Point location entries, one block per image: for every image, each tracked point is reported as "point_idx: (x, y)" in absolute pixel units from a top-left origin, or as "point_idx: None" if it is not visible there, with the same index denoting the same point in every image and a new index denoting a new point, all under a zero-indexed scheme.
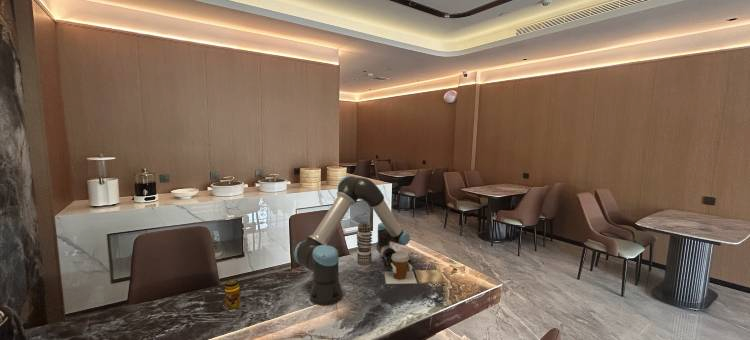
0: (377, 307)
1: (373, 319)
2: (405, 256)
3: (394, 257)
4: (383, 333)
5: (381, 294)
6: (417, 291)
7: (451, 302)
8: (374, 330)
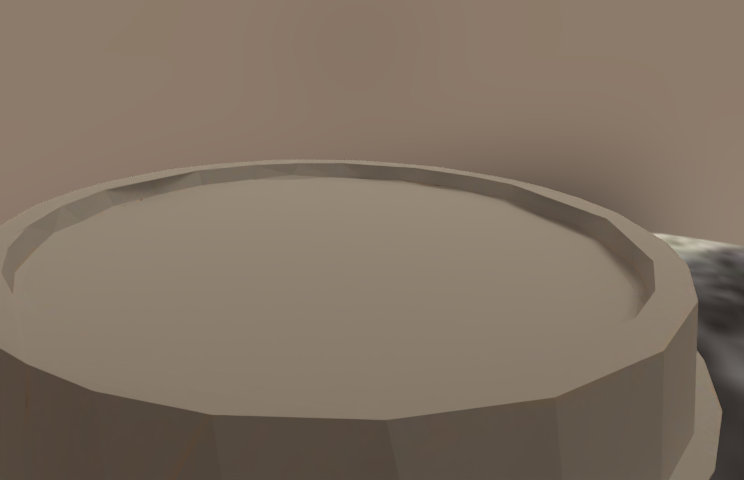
0: (729, 320)
1: (732, 275)
2: (225, 199)
3: (595, 206)
4: (665, 234)
5: (725, 418)
6: None
7: None
8: (710, 246)
